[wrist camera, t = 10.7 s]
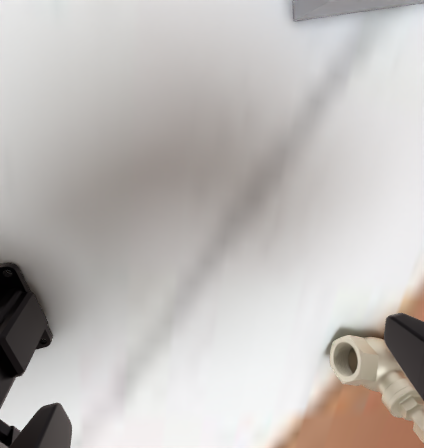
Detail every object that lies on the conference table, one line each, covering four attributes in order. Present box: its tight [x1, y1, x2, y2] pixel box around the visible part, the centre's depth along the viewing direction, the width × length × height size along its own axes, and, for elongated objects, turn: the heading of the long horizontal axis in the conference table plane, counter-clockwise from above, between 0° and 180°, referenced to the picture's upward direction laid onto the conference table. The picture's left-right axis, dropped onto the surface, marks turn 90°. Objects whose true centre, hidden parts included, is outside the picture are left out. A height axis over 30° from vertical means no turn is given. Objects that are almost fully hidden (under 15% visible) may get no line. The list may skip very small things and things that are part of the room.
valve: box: [330, 335, 424, 443], centre depth 21 cm, size 7×7×12 cm
